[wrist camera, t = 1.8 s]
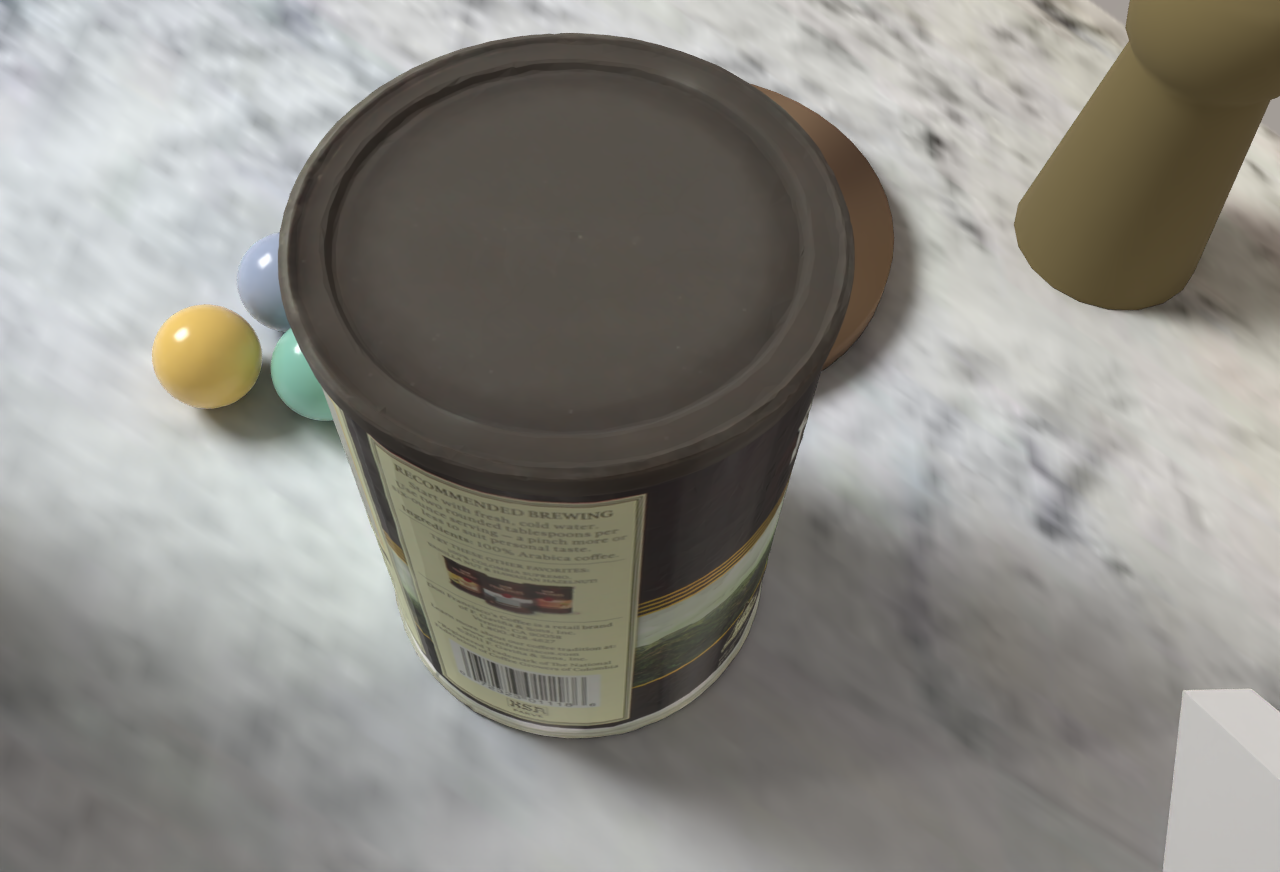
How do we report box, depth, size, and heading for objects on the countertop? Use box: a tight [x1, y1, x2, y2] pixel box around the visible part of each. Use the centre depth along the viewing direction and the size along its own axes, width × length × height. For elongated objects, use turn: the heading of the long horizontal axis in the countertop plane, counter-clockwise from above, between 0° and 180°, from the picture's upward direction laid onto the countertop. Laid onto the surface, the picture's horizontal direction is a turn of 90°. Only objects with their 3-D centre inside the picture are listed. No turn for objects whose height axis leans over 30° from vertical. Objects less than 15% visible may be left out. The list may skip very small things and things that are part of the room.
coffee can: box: [278, 33, 855, 738], centre depth 28 cm, size 10×10×14 cm
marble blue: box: [237, 232, 291, 332], centre depth 36 cm, size 3×3×3 cm
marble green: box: [271, 328, 333, 421], centre depth 35 cm, size 3×3×3 cm
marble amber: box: [152, 304, 262, 409], centre depth 35 cm, size 3×3×3 cm
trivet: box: [751, 84, 894, 371], centre depth 39 cm, size 13×13×1 cm
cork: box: [1014, 0, 1280, 310], centre depth 36 cm, size 6×6×11 cm
